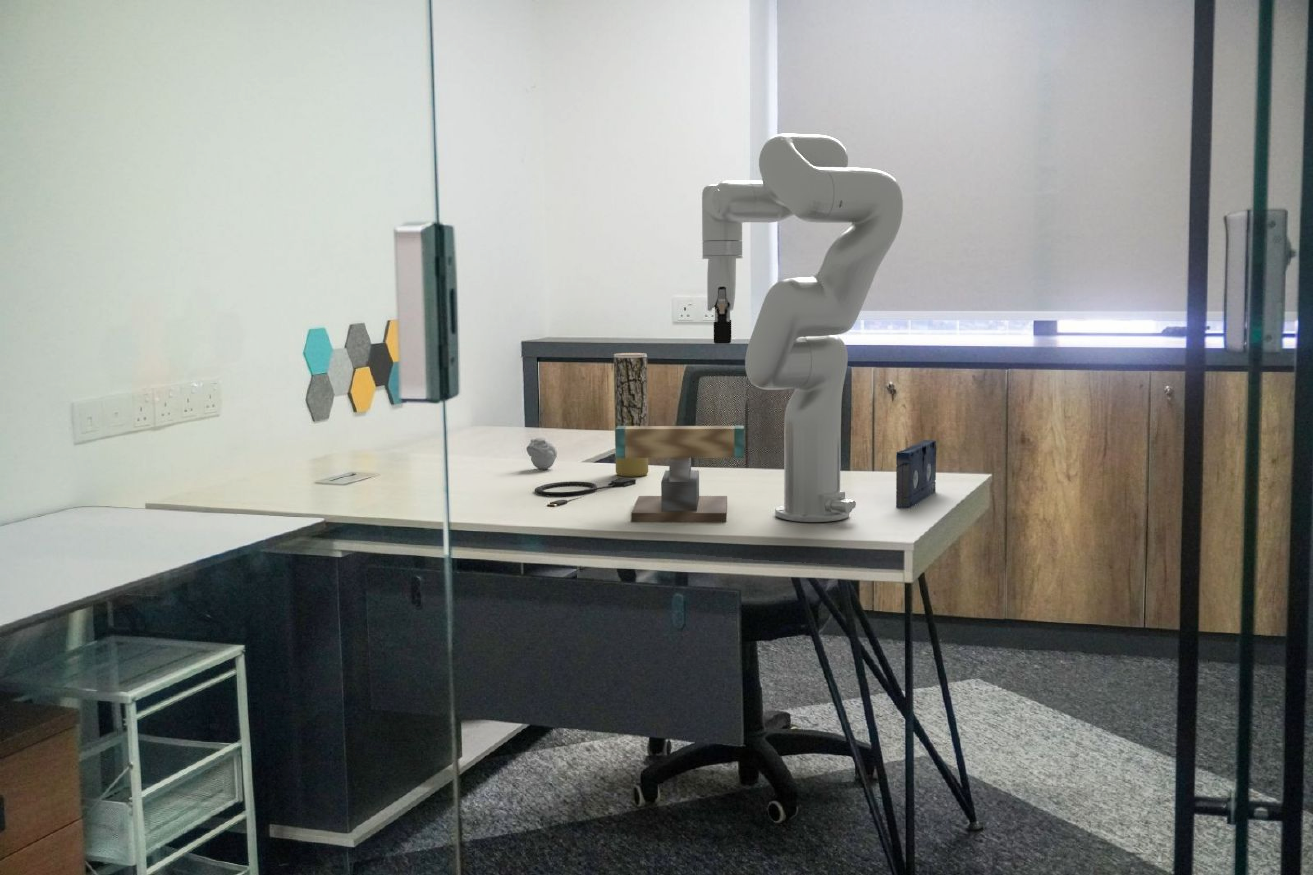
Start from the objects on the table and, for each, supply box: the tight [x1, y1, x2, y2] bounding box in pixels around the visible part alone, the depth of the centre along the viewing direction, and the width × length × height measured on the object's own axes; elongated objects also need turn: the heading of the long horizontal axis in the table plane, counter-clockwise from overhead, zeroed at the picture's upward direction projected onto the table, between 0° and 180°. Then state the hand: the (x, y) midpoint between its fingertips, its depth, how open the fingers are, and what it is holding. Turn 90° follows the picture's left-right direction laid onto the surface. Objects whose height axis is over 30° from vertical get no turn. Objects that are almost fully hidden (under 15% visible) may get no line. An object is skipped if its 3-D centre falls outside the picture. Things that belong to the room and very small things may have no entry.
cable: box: [534, 477, 637, 508], centre depth 243 cm, size 14×28×2 cm, turn 149°
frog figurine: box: [526, 436, 558, 471], centre depth 270 cm, size 6×7×7 cm
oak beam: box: [615, 425, 745, 459], centre depth 219 cm, size 22×4×5 cm, turn 86°
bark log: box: [613, 352, 649, 478], centre depth 260 cm, size 7×7×25 cm
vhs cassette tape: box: [895, 439, 937, 509], centre depth 230 cm, size 18×3×10 cm, turn 152°
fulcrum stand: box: [630, 458, 728, 523], centre depth 220 cm, size 16×16×10 cm
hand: (722, 341), depth 241 cm, fingers open, 9 cm apart
